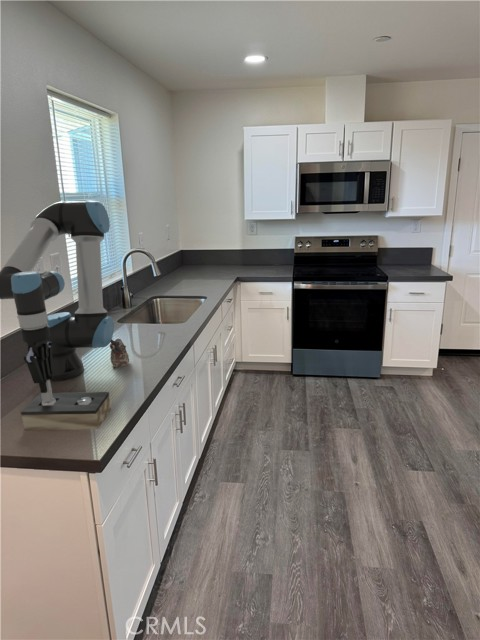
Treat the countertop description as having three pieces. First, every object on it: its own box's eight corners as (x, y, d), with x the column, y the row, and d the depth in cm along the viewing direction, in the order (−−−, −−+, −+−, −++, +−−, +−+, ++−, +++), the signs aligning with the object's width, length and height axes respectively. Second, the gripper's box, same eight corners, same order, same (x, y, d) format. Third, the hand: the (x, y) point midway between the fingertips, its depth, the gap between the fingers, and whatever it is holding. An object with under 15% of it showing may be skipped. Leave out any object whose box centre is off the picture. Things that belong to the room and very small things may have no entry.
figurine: (125, 369, 170) (121, 348, 162) (108, 365, 171) (103, 344, 163) (132, 356, 175) (128, 335, 167) (115, 352, 176) (111, 332, 168)
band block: (43, 410, 138) (40, 393, 136) (111, 409, 137) (108, 391, 135) (24, 430, 126) (20, 411, 125) (98, 429, 125) (95, 410, 124)
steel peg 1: (48, 414, 134) (45, 398, 132) (60, 413, 133) (58, 397, 132) (42, 420, 130) (39, 404, 128) (55, 420, 130) (52, 403, 128)
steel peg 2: (82, 413, 133) (80, 397, 132) (95, 412, 133) (93, 396, 131) (77, 419, 129) (75, 403, 128) (90, 419, 129) (88, 402, 128)
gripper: (32, 320, 130) (45, 391, 136) (9, 333, 117) (24, 411, 124) (57, 319, 129) (69, 390, 136) (36, 333, 117) (50, 410, 124)
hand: (47, 400), depth 130 cm, fingers closed
